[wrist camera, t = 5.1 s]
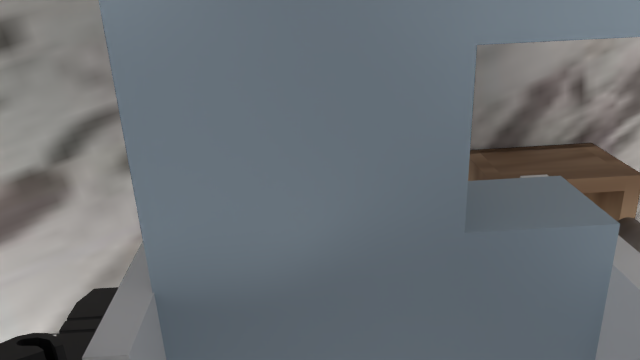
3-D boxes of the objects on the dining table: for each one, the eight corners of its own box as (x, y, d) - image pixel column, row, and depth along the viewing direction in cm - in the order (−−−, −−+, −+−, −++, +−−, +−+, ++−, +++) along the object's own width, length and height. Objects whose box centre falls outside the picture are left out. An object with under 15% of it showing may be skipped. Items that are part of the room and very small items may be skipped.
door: (137, -24, 11) (94, -19, 8) (590, -45, 11) (670, -45, 9) (217, 487, 16) (204, 577, 14) (521, 465, 16) (560, 549, 14)
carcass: (463, 150, 32) (525, 220, 23) (596, 142, 32) (706, 209, 23) (451, 347, 37) (499, 462, 28) (566, 339, 37) (646, 450, 29)
